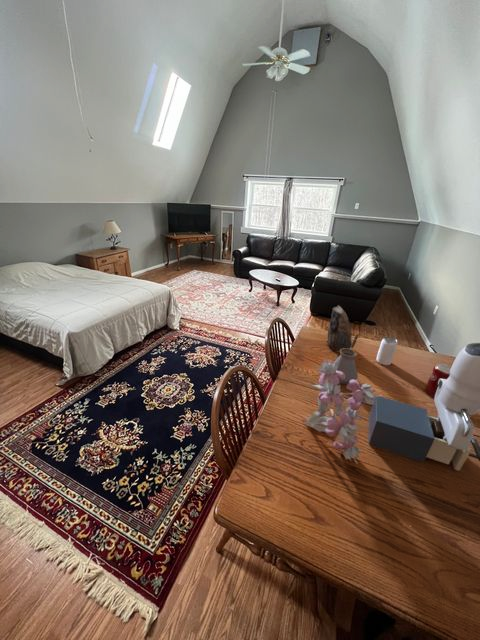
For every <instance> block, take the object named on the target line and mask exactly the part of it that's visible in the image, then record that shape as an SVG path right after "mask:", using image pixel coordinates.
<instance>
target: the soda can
mask: <svg viewBox="0 0 480 640" xmlns="http://www.w3.org/2000/svg"><path fill="white" fill-rule="evenodd" d="M451 367H452V366H450V365H447V364H444V363H436V364H435V365H434V366H433V369H432V371H431V373H430V376H429V378H428V380H427V383H426V385H425V387H424V391H425V393H426V394H427V395H428V396H430V397H431V398H435V394H436V391H437V388H438V386H439V385H438V381H439V379H440V378H441V379H448V378H449V376H450V369H451Z"/></svg>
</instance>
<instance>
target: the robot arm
mask: <svg viewBox="0 0 480 640" xmlns="http://www.w3.org/2000/svg"><path fill="white" fill-rule="evenodd" d="M450 367H451V369H450V376H449V378H448V379H441V378H440V379H439V381H438V385H439V386H438V388H437V391H436V394H435V398H434V400H433V402H434V405H435V408H436V412H437V418H438V421H439V422H441V423H442V427H443V430H444V433H445V436H442V437H441V439H442V440H445V441H447V442H448V445H449V446H450V447H452V448H455V449H459V450H462V451H464V450H467V448H468V446H469V447H470V444H471V440H472V439H473V437H474V434H475V425H474V424H473V421H472V419H471V416H474V415H477V414H478V413H479V411H480V342H470V343H468V344H465V346H464V347H463V348H461V350H460V351H459V353H458V354H457V355H456V357H455V359H454V361H453V363H452V365H451V366H450Z"/></svg>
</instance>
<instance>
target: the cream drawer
mask: <svg viewBox="0 0 480 640" xmlns="http://www.w3.org/2000/svg"><path fill="white" fill-rule="evenodd" d="M428 417H429V420H430V424H431V426H432V424H433V422H434V420H436V421H438V417H435V416H432V415H429V414H428ZM434 438H435V439H434V441H433V443H432V446H431V448H430V450H429V452H428V454H427V456H426V458H428V459H430V460H434V461H436V462H440V463H442V464H446V465H450V463H451V462H452V465H453V469H454V470H455V471H458V472H460V471H461V469H462V468H463V465H464V464H465V462H466V461H467V458H468V457H471V458H474V459H477V460H478V462H480V445H479V443H478V440H477V439H476V438H472V440H471V442H470V444H471V446H472V448H473V451H474V453H475V454H474V453H471V452H472V451H471V449H470V445H469V446H468V448H467V450H464V451H462V450H459V449H455V448H452V447H450V446H449V445H448V442H447V441H445V440H442V439H439V438H436V437H434Z"/></svg>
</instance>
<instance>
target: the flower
mask: <svg viewBox="0 0 480 640" xmlns="http://www.w3.org/2000/svg"><path fill="white" fill-rule="evenodd" d="M334 362H335V361H334ZM337 368H338V364H337V362H335V364H334V366H333V362H332V360H327V361H326V357H324V358H323V361H321V363H320V365H318V366H317V370H318V372H319V373H320V375H319V377H318V383H319V384H311V385H310V386H309V389H311V388H313V389H315V390H319V391H320V393H319V394H318V395H317V407H318V408H317V410H316V411H314V412H313V413H312V414H311V415H310V416H309V417H307V418H306V419H303V418H302V419H301V422H302V423H304V425H305V424H306V425H308V426H310V427H311V428H312V429H314V430H315V431H317V432H319V433H320V432H323V433H325V434H326V435H327V436H329V437H331V438H333V437H336V436H337V438H338V439H339V441H340V442H339V441H338V440H335V441H334V442H333V447H334V449H335V450H337V451H341V450H342V451H343V452H342V455H343V457H344V459H345V460H346V461H348V460H350V462H352V459H353V460H354V461H355V463H356V464H359V463H358V461H357V459H356V457H359V455H360V454H362V452H361V449H360V447H358V446H357V445H356V444H358V435H357V433H356V432H358V433H359V432H360V429H359V427H358V424H357V423H356V421H359V420H360V419H361V418H362V415H360V411H359V409H361V406H363V404H367V405H370V406H372V405H373V404H374V403H375V402H376V399H375V397H380V396H381V397H382V394H380V395H377V394H375V393H374V392H376V389H375V388H374V389H371V388H373V387H374V385H370V384H368V383H364V384H360V382H359V381H358V379H356V380H353V379H352V380H350V383H349V384H346V389H348V390H349V391H352V392H341V391H342V390H341V384H340V383H339V378H338V377H337V376H339V377H341V378H342V379H343V380H344V379H345V374H344V373H343V372H341V371H338V370H337ZM340 392H341V393H340ZM348 395H351V397H349V398H347V399H346V402H347V406H346V407H344V406H345V405H344V404H343V403H344V402H345V399H344V396H348ZM374 401H375V402H374ZM332 403H333V404H334V409H335V412H334V410H333V409H331V405H332ZM344 409H345V411H346V412H345V411H344ZM328 411H330V414H331V416H330V415H328V414H326V413H327V412H328ZM338 417H339V420H340V421H339V420H338ZM362 455H363V454H362Z"/></svg>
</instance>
